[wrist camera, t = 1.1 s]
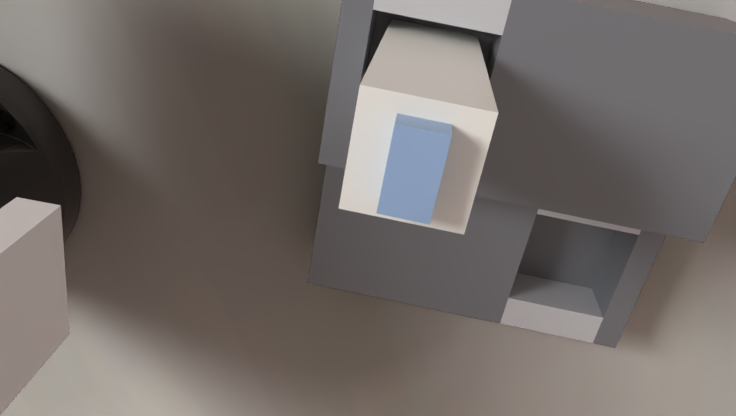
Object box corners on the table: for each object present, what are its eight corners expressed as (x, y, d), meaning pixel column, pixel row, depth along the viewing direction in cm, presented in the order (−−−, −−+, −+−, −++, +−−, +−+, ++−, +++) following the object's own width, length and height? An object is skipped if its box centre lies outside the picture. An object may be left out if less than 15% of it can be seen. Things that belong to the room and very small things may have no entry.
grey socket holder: (318, 252, 39) (294, 318, 32) (368, -53, 31) (348, -44, 24) (600, 312, 38) (631, 390, 32) (725, 18, 30) (799, 46, 24)
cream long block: (376, 102, 30) (333, 222, 18) (391, 18, 28) (355, 94, 17) (456, 118, 30) (465, 250, 18) (477, 36, 28) (501, 124, 16)
